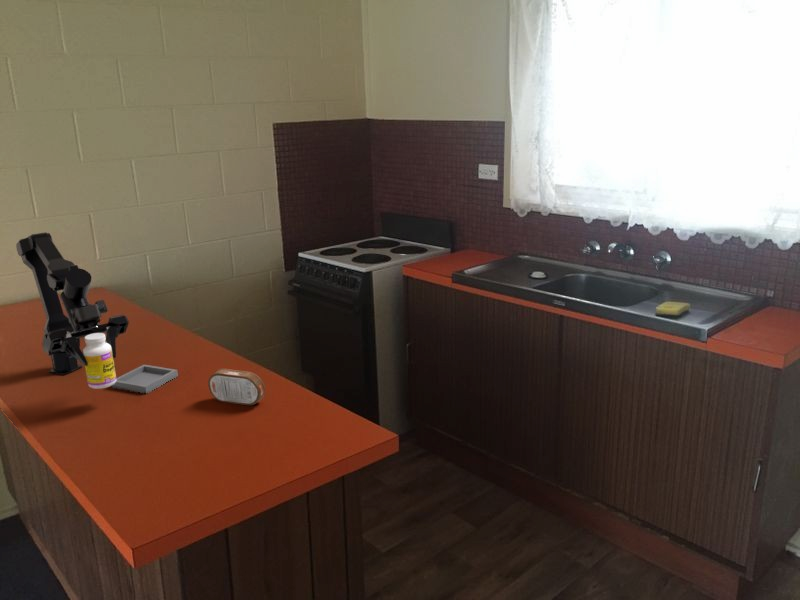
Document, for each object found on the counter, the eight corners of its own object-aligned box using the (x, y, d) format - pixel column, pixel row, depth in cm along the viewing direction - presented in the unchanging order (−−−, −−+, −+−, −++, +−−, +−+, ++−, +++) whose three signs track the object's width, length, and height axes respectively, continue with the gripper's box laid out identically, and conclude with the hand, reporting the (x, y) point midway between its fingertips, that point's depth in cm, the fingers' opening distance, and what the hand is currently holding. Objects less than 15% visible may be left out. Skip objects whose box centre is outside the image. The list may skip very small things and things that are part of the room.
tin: (267, 403, 169) (264, 371, 167) (260, 408, 166) (257, 376, 164) (215, 396, 174) (211, 366, 172) (208, 401, 171) (204, 370, 169)
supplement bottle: (107, 390, 166) (98, 341, 162) (82, 389, 168) (73, 340, 164) (122, 379, 173) (114, 331, 169) (99, 378, 174) (90, 330, 170)
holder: (112, 387, 182) (111, 380, 181) (145, 371, 192) (143, 364, 192) (146, 394, 177) (145, 387, 176) (178, 376, 187) (177, 369, 187)
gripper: (40, 300, 160) (63, 356, 155) (120, 283, 172) (143, 335, 167) (37, 324, 168) (59, 377, 163) (113, 306, 180) (136, 356, 175)
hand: (100, 361), depth 167 cm, fingers closed on supplement bottle, 7 cm apart
